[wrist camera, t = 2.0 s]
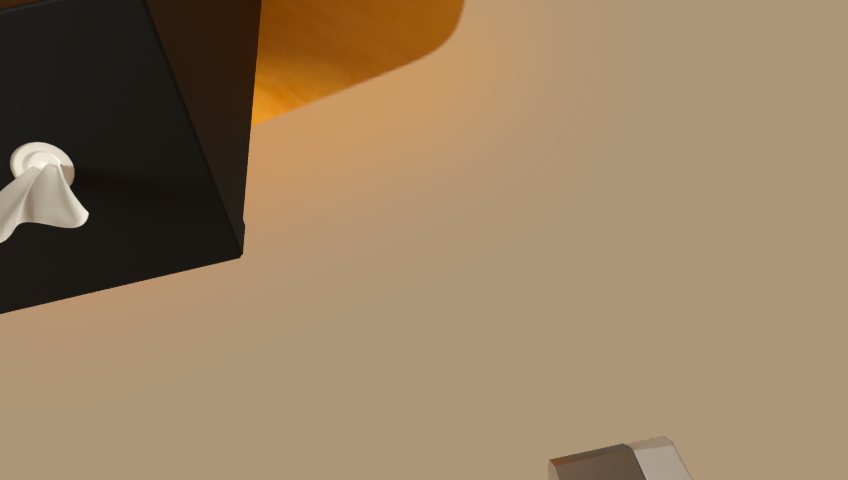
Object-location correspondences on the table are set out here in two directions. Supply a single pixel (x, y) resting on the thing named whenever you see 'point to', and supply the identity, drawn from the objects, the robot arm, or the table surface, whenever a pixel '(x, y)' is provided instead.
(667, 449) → the robot arm
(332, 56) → the table surface
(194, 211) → the black long block
